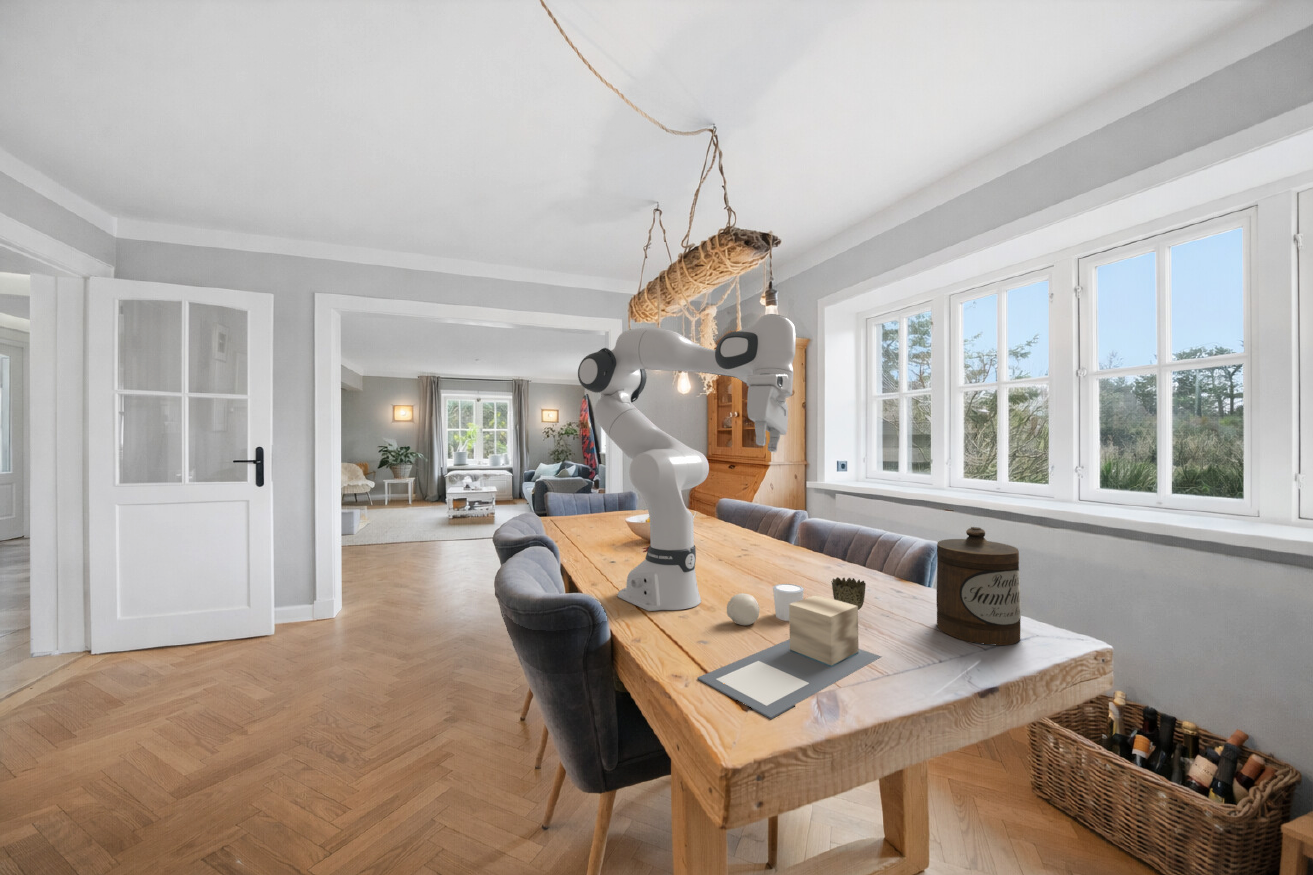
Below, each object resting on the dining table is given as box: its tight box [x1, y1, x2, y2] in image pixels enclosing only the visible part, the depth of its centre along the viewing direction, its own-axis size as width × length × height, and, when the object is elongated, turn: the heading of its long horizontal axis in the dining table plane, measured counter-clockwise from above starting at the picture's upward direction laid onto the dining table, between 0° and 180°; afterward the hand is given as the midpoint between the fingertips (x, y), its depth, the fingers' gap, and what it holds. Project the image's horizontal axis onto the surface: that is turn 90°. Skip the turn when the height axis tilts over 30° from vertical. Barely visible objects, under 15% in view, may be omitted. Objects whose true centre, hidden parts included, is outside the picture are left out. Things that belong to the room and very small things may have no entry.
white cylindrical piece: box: [772, 583, 805, 622], centre depth 115 cm, size 7×7×7 cm
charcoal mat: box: [697, 638, 883, 720], centre depth 90 cm, size 32×16×1 cm, turn 128°
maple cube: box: [788, 594, 860, 667], centre depth 96 cm, size 9×9×9 cm
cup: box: [830, 576, 867, 611], centre depth 115 cm, size 8×7×8 cm
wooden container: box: [936, 526, 1022, 646], centre depth 105 cm, size 15×15×22 cm
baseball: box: [726, 592, 760, 626], centre depth 111 cm, size 7×7×7 cm
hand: (766, 448), depth 108 cm, fingers open, 8 cm apart
